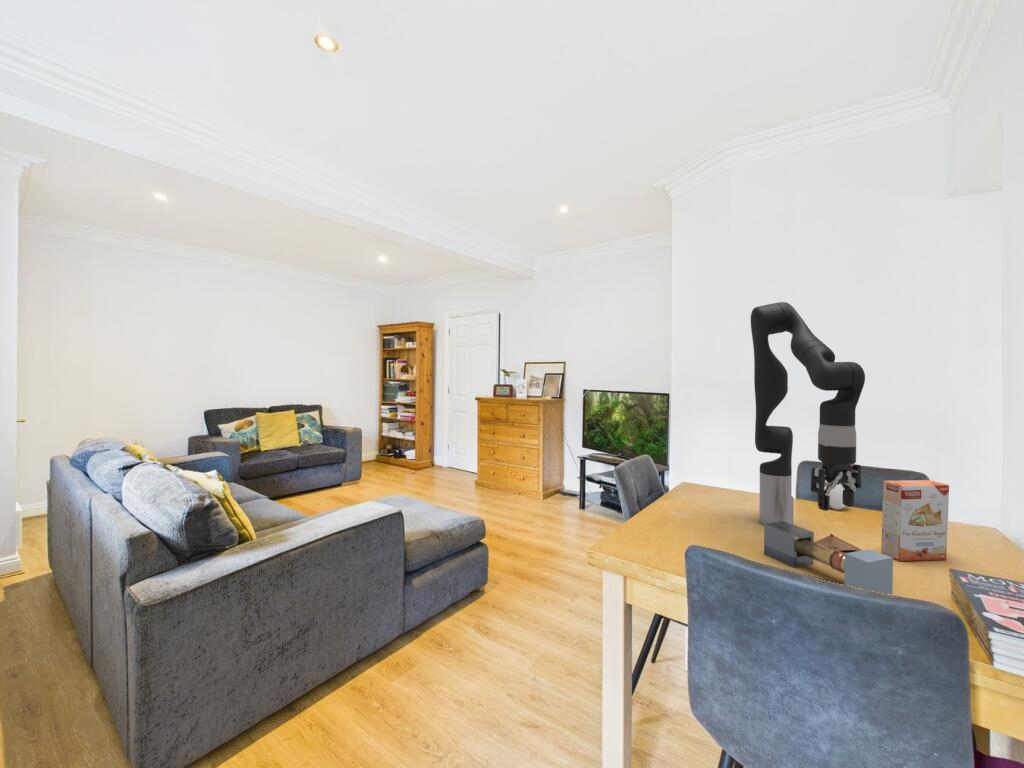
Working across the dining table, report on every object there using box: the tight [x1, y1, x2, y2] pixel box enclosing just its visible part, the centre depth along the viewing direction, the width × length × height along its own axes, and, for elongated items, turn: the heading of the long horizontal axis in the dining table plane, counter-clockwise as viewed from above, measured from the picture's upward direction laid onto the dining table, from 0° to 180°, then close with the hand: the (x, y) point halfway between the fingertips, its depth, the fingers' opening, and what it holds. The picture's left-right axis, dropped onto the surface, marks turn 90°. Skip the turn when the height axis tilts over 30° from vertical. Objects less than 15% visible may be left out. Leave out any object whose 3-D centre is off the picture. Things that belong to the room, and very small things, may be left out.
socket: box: [844, 548, 894, 595], centre depth 98 cm, size 8×5×9 cm, turn 108°
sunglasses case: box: [814, 533, 862, 553], centre depth 118 cm, size 18×7×7 cm, turn 1°
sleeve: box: [763, 521, 815, 568], centre depth 117 cm, size 7×9×9 cm
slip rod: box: [797, 538, 845, 574], centre depth 106 cm, size 5×19×5 cm, turn 18°
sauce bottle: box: [824, 480, 846, 511], centre depth 160 cm, size 8×8×18 cm
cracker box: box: [880, 479, 950, 562], centre depth 118 cm, size 14×6×21 cm, turn 94°
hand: (836, 507), depth 106 cm, fingers open, 8 cm apart
